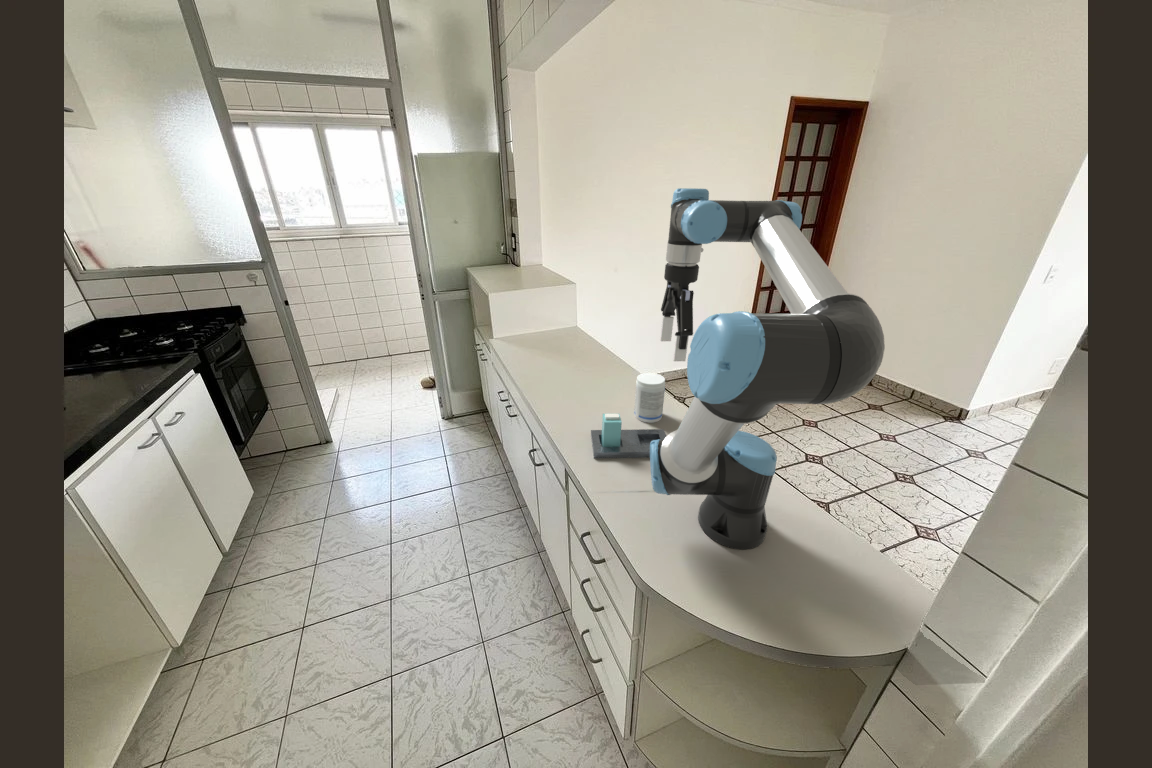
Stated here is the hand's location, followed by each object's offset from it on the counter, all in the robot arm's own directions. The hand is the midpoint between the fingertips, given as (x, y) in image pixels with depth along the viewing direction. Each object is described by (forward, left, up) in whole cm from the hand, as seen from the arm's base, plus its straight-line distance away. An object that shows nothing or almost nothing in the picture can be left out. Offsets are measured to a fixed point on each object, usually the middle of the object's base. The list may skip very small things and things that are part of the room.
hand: (671, 350), depth 103 cm
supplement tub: (+26, -2, -35) cm, 44 cm away
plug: (+8, +13, -34) cm, 37 cm away
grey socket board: (+8, +7, -35) cm, 36 cm away
